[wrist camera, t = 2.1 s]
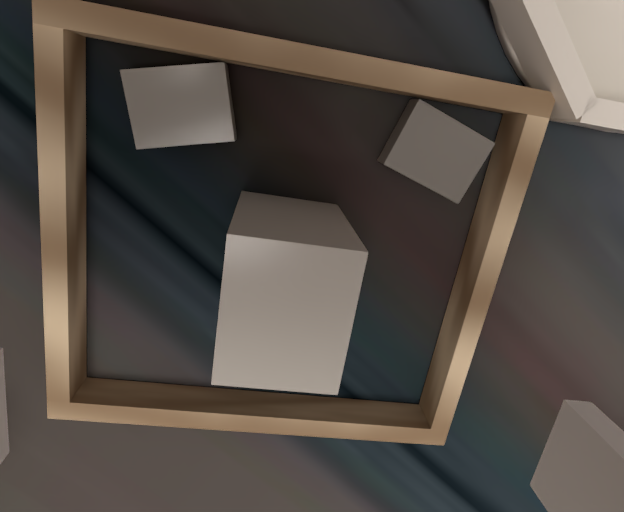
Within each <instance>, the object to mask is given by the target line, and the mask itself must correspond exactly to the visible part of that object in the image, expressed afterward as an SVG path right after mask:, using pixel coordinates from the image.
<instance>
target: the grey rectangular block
mask: <svg viewBox="0 0 624 512" xmlns="http://www.w3.org/2000/svg"><path fill="white" fill-rule="evenodd" d="M494 145H495V143H494V142H492V141H491V140H489V139H487V138H485V137H484V136H482V135H480V134H479V133H477V132H475V131H474V130H472V129H470V128H468V127H467V126H465V125H463V124H462V123H460V122H458V121H457V120H455V119H453V118H451V117H450V116H448V115H446V114H445V113H443V112H441V111H439V110H438V109H436V108H434V107H433V106H431V105H429V104H428V103H426V102H424V101H422V100H421V99H410V100H409V102H408V104H407V106H406V108H405V110H404V111H403V113H402V115H401V117H400V119H399V121H398V123H397V124H396V126H395V128H394V130H393V132H392V134H391V135H390V137H389V139H388V141H387V143H386V145H385V147H384V148H383V150H382V152H381V154H380V156H379V158H378V159H377V161H378V162H380V163H382V164H384V165H386V166H388V167H389V168H391V169H393V170H395V171H397V172H399V173H401V174H403V175H404V176H406V177H408V178H410V179H412V180H414V181H416V182H418V183H419V184H421V185H423V186H425V187H427V188H429V189H431V190H433V191H434V192H436V193H438V194H440V195H442V196H444V197H446V198H448V199H450V200H451V201H453V202H455V203H457V204H459V202H460V201H461V199H462V197H463V196H464V194H465V192H466V191H467V189H468V188H469V186H470V184H471V183H472V181H473V179H474V178H475V176H476V174H477V173H478V171H479V170H480V168H481V166H482V165H483V163H484V161H485V160H486V158H487V156H488V155H489V153H490V152H491V150H492V148H493V147H494Z"/></svg>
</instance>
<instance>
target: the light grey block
mask: <svg viewBox="0 0 624 512" xmlns="http://www.w3.org/2000/svg"><path fill="white" fill-rule="evenodd" d="M120 74H121V78H122V83H123V88H124V93H125V98H126V102H127V107H128V112H129V117H130V122H131V126H132V131H133V136H134V141H135V146H136V149H148V148H159V147H171V146H183V145H195V144H206V143H218V142H230V141H235V140H236V139H237V134H236V126H235V119H234V111H233V103H232V96H231V88H230V81H229V73H228V65H227V64H226V63H225V62H216V63H203V64H190V65H176V66H163V67H150V68H136V69H123V70H120Z"/></svg>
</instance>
